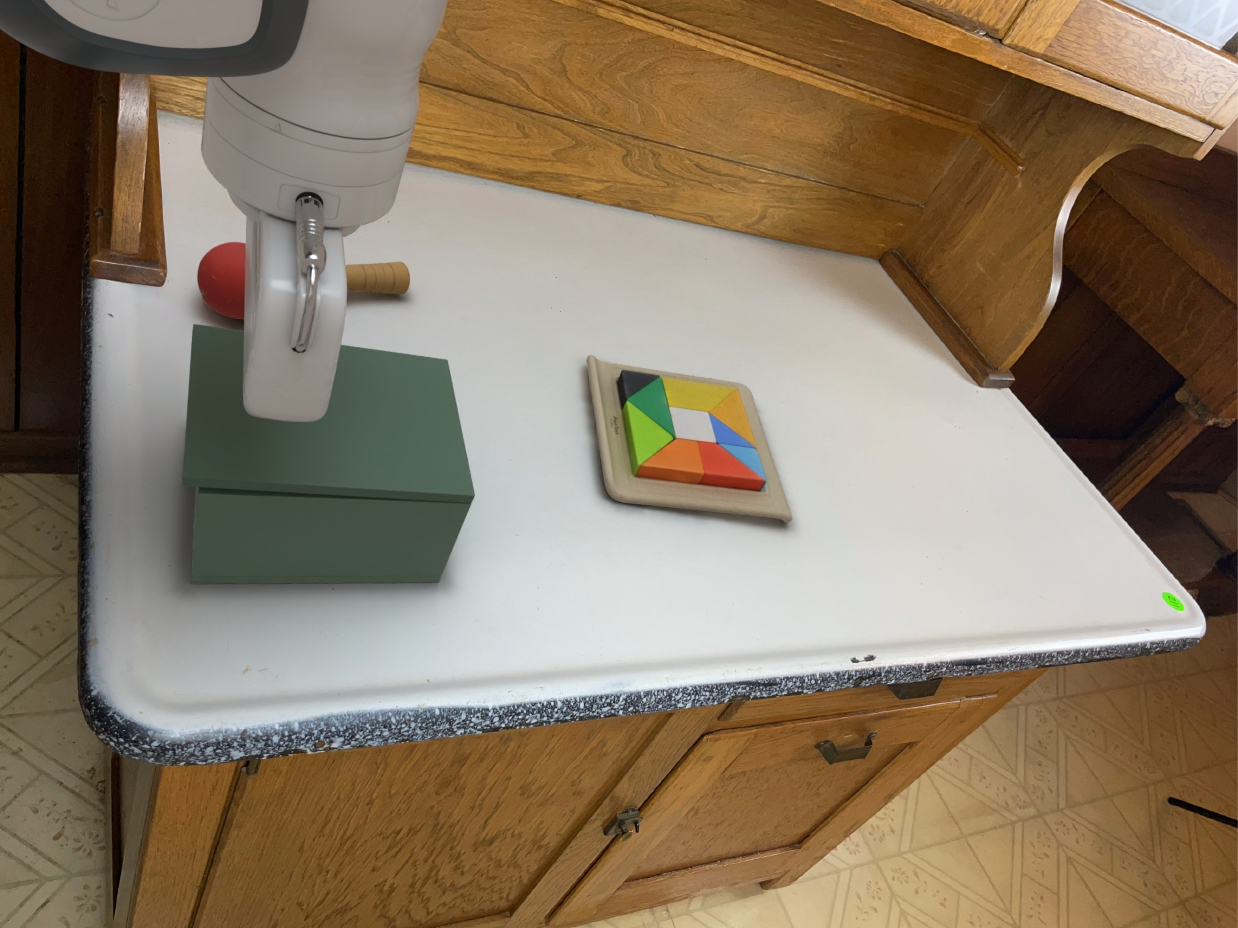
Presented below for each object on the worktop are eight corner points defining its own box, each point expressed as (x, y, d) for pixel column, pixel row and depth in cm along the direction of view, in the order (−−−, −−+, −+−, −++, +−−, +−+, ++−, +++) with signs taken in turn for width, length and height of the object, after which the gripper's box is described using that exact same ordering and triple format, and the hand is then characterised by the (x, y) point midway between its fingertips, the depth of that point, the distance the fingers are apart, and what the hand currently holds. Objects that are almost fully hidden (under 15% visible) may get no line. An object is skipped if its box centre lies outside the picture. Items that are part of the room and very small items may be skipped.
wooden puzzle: (579, 363, 83) (592, 335, 81) (747, 400, 90) (763, 376, 87) (598, 500, 71) (614, 473, 69) (790, 531, 78) (810, 507, 76)
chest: (190, 584, 53) (197, 494, 47) (198, 435, 61) (205, 342, 55) (439, 582, 60) (471, 504, 54) (418, 449, 68) (444, 368, 62)
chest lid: (181, 486, 46) (182, 477, 46) (192, 333, 54) (193, 323, 53) (471, 503, 54) (475, 495, 54) (444, 367, 62) (448, 359, 61)
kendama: (368, 270, 82) (173, 267, 69) (395, 223, 78) (193, 210, 65) (402, 333, 80) (208, 343, 67) (432, 288, 76) (231, 288, 63)
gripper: (397, 293, 35) (335, 502, 44) (362, 60, 47) (319, 260, 56) (228, 265, 32) (199, 495, 41) (238, 24, 45) (214, 241, 54)
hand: (268, 357), depth 49 cm, fingers closed
